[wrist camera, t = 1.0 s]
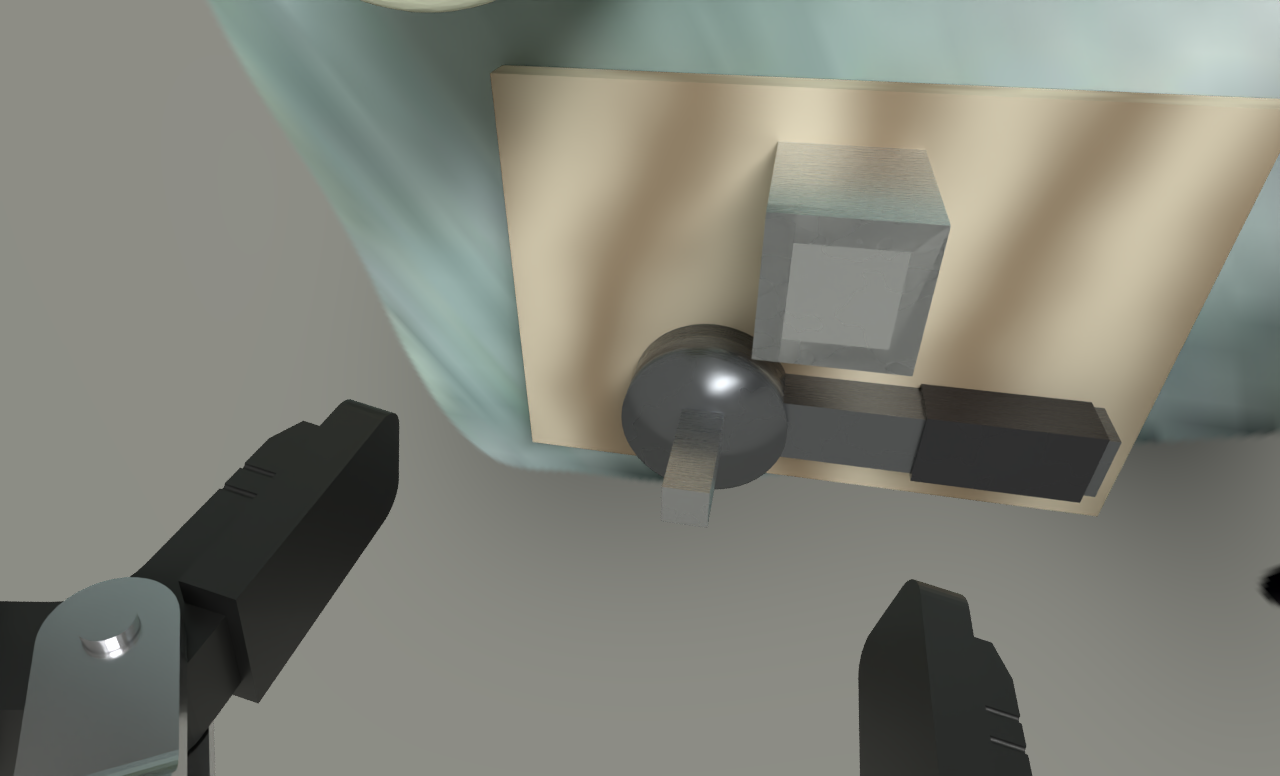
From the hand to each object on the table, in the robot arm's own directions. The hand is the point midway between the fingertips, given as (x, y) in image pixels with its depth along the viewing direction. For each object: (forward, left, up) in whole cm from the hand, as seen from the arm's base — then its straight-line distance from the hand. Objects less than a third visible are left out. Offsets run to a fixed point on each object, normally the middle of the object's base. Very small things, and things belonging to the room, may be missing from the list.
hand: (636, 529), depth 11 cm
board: (-3, +6, -18) cm, 19 cm away
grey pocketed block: (-3, +2, -17) cm, 17 cm away
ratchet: (-5, +10, -17) cm, 20 cm away
